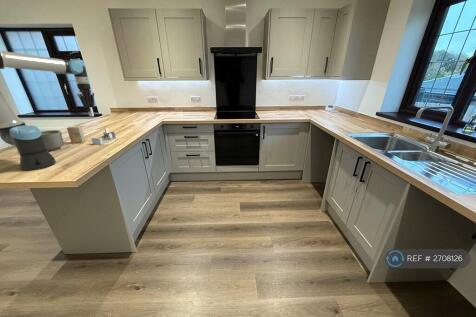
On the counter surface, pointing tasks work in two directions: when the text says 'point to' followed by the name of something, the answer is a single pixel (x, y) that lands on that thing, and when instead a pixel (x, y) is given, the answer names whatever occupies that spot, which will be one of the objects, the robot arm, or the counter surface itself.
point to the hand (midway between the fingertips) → (91, 115)
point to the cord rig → (99, 140)
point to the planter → (52, 139)
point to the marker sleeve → (107, 133)
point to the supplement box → (76, 134)
